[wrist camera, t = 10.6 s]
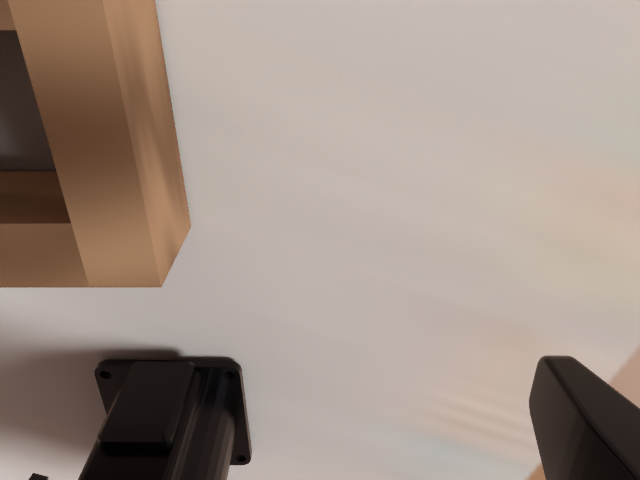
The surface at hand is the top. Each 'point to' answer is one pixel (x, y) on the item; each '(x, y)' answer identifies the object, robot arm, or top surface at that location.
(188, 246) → the top surface
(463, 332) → the top surface
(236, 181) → the top surface
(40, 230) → the pin mount
